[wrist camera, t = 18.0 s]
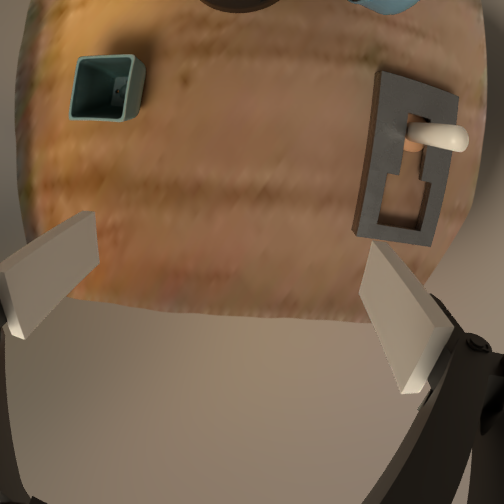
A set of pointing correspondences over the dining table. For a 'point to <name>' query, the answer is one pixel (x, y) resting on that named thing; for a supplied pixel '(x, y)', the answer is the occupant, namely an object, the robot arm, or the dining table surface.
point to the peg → (434, 135)
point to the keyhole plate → (390, 156)
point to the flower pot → (107, 88)
